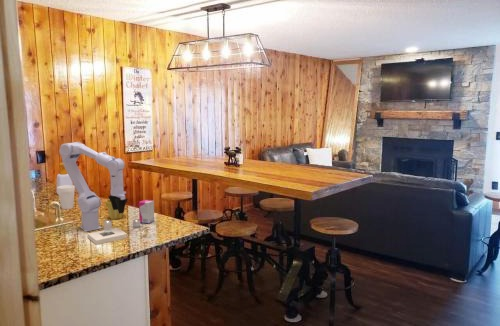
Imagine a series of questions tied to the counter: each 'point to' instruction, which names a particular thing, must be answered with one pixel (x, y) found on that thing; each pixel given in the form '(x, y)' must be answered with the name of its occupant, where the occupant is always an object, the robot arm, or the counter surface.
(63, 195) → the foam cup
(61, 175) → the soap bottle
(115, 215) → the plant pot
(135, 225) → the short steel pin
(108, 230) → the long steel pin
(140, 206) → the supplement box
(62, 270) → the counter surface
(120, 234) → the hole board
